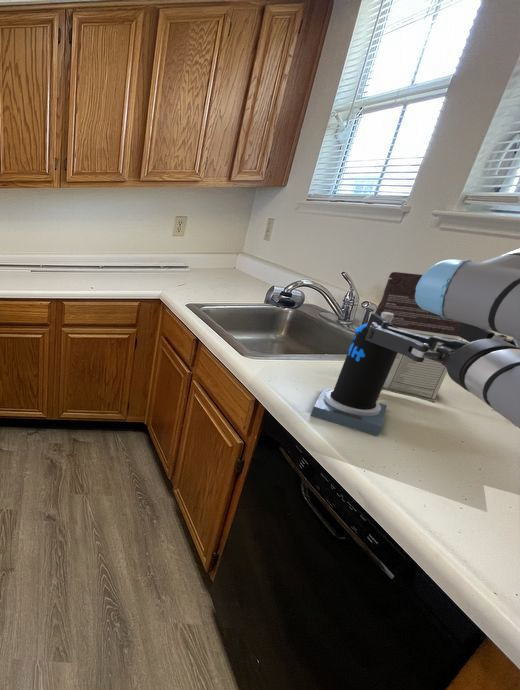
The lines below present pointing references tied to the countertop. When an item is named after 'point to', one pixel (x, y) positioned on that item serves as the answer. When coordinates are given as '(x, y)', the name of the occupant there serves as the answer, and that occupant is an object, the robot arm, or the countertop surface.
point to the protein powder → (416, 320)
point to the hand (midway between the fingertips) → (415, 324)
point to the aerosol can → (364, 370)
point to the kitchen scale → (349, 414)
